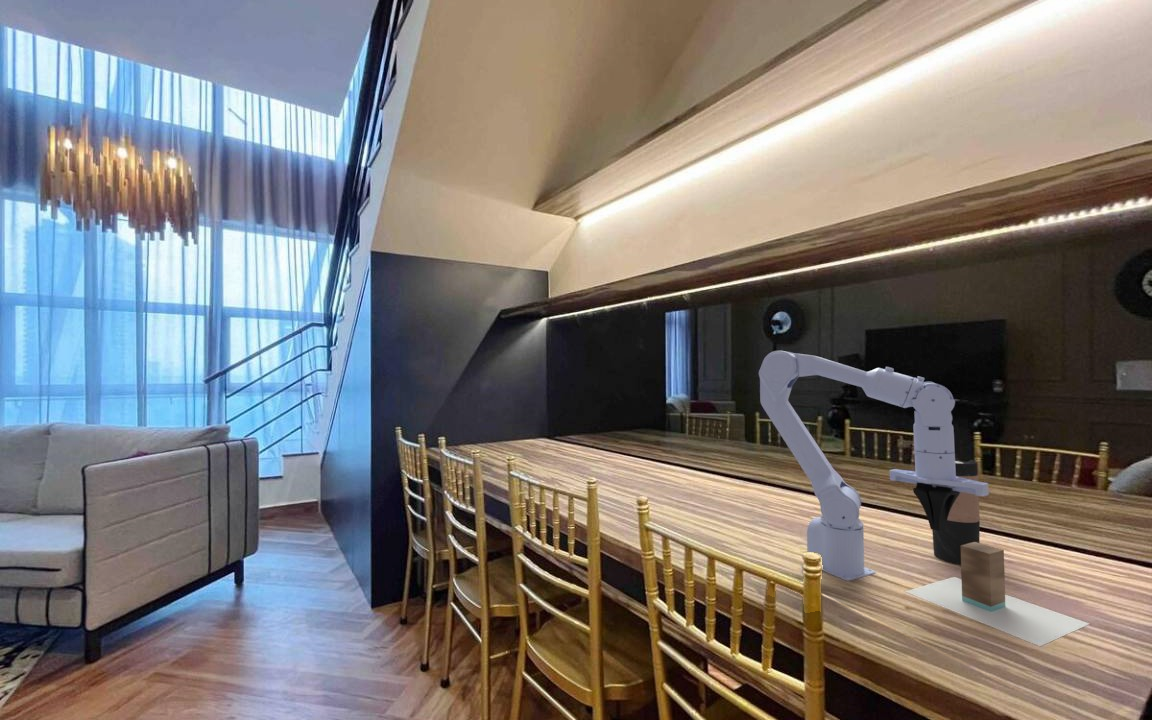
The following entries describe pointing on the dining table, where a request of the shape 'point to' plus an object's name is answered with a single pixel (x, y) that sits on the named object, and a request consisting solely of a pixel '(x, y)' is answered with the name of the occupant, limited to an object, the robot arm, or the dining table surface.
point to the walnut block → (983, 576)
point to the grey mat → (1002, 613)
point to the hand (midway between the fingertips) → (937, 529)
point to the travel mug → (959, 519)
